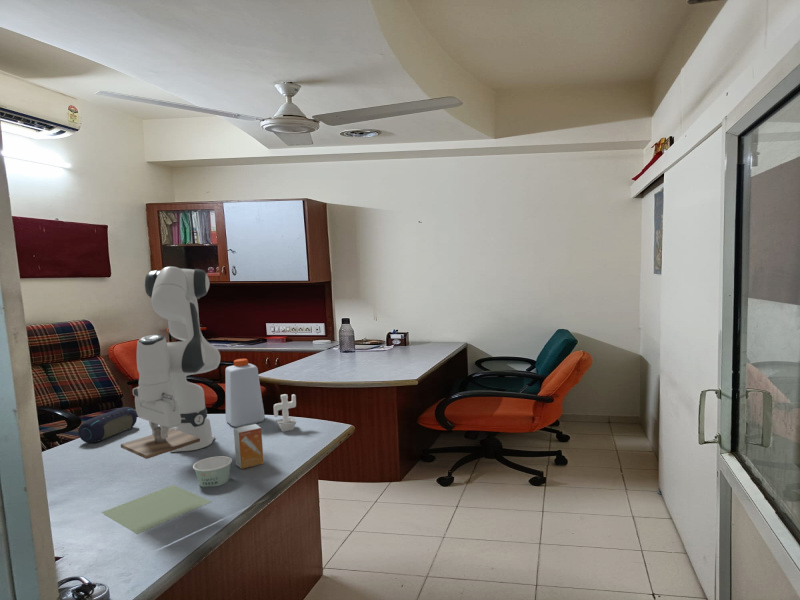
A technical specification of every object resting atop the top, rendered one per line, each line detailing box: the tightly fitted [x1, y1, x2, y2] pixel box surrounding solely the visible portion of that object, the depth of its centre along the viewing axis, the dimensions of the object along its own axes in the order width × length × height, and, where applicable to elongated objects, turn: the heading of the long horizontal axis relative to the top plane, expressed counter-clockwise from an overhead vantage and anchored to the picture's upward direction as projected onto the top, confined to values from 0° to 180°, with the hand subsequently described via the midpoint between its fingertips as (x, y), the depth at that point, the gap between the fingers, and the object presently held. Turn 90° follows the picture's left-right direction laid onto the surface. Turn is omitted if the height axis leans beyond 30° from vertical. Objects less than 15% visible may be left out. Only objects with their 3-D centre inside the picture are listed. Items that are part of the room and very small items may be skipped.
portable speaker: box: [77, 406, 138, 444], centre depth 228 cm, size 25×10×10 cm, turn 163°
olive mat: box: [101, 484, 212, 535], centre depth 156 cm, size 22×22×1 cm
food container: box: [192, 455, 233, 488], centre depth 173 cm, size 12×12×6 cm
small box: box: [233, 423, 265, 470], centre depth 187 cm, size 8×6×13 cm
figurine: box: [273, 393, 297, 433], centre depth 223 cm, size 7×9×15 cm
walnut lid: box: [120, 426, 200, 460], centre depth 157 cm, size 16×16×5 cm
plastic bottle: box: [224, 358, 265, 428], centre depth 238 cm, size 15×15×28 cm
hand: (160, 436), depth 158 cm, fingers closed on walnut lid, 3 cm apart
